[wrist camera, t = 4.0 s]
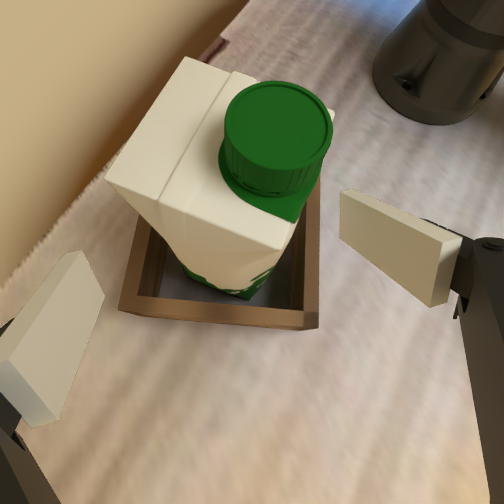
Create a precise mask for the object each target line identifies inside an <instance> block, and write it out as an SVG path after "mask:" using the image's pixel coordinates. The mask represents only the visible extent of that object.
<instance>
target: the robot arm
mask: <svg viewBox="0 0 504 504" xmlns="http://www.w3.org/2000/svg"><path fill="white" fill-rule="evenodd" d="M503 72H504V0H421V1H420V2H419V3H418V4H417V5H416V6H415V7H414V8H413V10H412V11H411V12H410V13H409V14H408V15H407V16H406V17H405V18H404V19H403V20H402V22H401V23H400V24H399V25H398V26H397V27H396V28H395V29H394V31H393V32H392V33H391V34H390V35H389V36H388V37H387V38H386V40H385V41H384V43H383V44H382V46H381V48H380V50H379V52H378V54H377V56H376V58H375V60H374V63H373V79H374V82H375V85H376V87H377V89H378V91H379V92H380V94H381V95H382V97H383V98H384V99H385V100H386V101H387V102H388V103H389V104H390V105H391V106H392V107H393V108H394V109H396V110H397V111H399V112H400V113H402V114H403V115H405V116H407V117H409V118H411V119H414V120H416V121H419V122H423V123H427V124H434V125H447V124H453V123H457V122H460V121H462V120H464V119H466V118H468V117H469V116H470V115H471V114H472V113H473V112H475V111H476V110H477V109H478V108H479V107H480V106H481V105H482V104H483V103H484V102H485V101H486V100H487V98H488V97H489V96H490V94H491V92H492V91H493V89H494V87H495V86H496V84H497V82H498V81H499V79H500V77H501V75H502V74H503ZM340 238H341V239H342V240H343V241H344V242H346V243H347V244H348V245H350V246H351V247H352V248H353V249H355V250H356V251H357V252H359V253H360V254H361V255H362V256H364V257H365V258H366V259H368V260H369V261H370V262H371V263H373V264H374V265H375V266H376V267H378V268H379V269H380V270H382V271H383V272H384V273H385V274H387V275H388V276H389V277H391V278H392V279H393V280H394V281H396V282H397V283H398V284H400V285H401V286H402V287H403V288H405V289H406V290H407V291H409V292H410V293H411V294H412V295H414V296H415V297H416V298H417V299H419V300H420V301H421V302H423V303H424V304H425V305H426V306H428V307H429V308H430V307H434V306H437V305H440V304H443V303H447V300H448V296H449V292H450V289H452V290H453V291H455V292H456V293H458V294H459V296H458V300H457V304H456V308H455V312H454V315H453V319H457V316H458V315H459V318H460V324H461V330H462V336H463V342H464V347H465V353H466V359H467V365H468V371H469V376H470V382H471V388H472V394H473V400H474V406H475V411H476V417H477V423H478V429H479V435H480V440H481V446H482V452H483V458H484V464H485V469H486V475H487V481H488V487H489V494H490V504H504V239H501V238H493V237H483V238H478V239H476V240H473V239H470V238H468V237H466V236H463V235H461V234H459V233H457V232H454V231H452V230H450V229H446V228H445V227H443V226H441V225H439V226H438V224H436V223H434V222H431V221H429V220H426V219H421V218H418V217H416V216H413V215H411V214H409V213H407V212H404V211H402V210H400V209H398V208H395V207H393V206H391V205H389V204H386V203H384V202H382V201H380V200H377V199H375V198H373V197H371V196H368V195H366V194H364V193H362V192H359V191H357V190H355V189H349V190H345V191H340ZM104 299H105V295H104V293H103V291H102V289H101V287H100V285H99V283H98V281H97V279H96V277H95V275H94V273H93V271H92V269H91V267H90V265H89V263H88V261H87V259H86V257H85V255H84V253H83V251H82V250H79V251H75V252H70V253H66V254H64V255H63V257H62V258H61V259H60V261H59V262H58V263H57V264H56V266H55V267H54V268H53V270H52V271H51V272H50V273H49V275H48V276H47V277H46V279H45V280H44V281H43V283H42V284H41V285H40V286H39V288H38V289H37V290H36V292H35V293H34V294H33V296H32V297H31V298H30V299H29V301H28V302H27V303H26V305H25V306H24V307H23V308H22V310H21V311H20V312H19V314H18V315H17V316H16V318H13V319H11V320H10V321H9V322H8V323H6V324H5V325H4V326H3V327H1V328H0V504H61V503H60V501H59V499H58V498H57V496H56V494H55V493H54V491H53V489H52V488H51V486H50V484H49V483H48V481H47V479H46V478H45V476H44V474H43V473H42V471H41V469H40V468H39V466H38V464H37V463H36V461H35V459H34V457H33V456H32V454H31V452H30V451H29V449H28V447H27V446H26V444H25V442H24V441H23V439H22V437H21V436H20V435H19V434H18V433H17V432H16V431H15V429H16V427H17V425H18V423H19V421H20V419H21V417H22V418H23V419H24V421H25V422H26V423H27V424H28V425H29V426H30V427H31V428H36V427H39V426H42V425H46V424H49V423H52V422H55V421H59V418H60V415H61V413H62V410H63V407H64V405H65V402H66V399H67V397H68V394H69V391H70V389H71V386H72V383H73V381H74V378H75V376H76V373H77V370H78V368H79V365H80V362H81V360H82V357H83V354H84V352H85V349H86V346H87V344H88V341H89V338H90V336H91V333H92V330H93V328H94V325H95V323H96V320H97V317H98V315H99V312H100V309H101V307H102V304H103V301H104Z"/></svg>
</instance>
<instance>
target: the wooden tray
mask: <svg viewBox="0 0 504 504" xmlns="http://www.w3.org/2000/svg"><path fill="white" fill-rule="evenodd" d="M319 241H320V174H319V177H318V180H317V182H316V185H315V187H314V189H313V191H312V192H311V194H310V195H309V197H308V198H307V200H306V202H305V204H304V207H303V209H302V212H301V214H300V217H299V220H298V222H297V225H296V228H295V230H294V233H293V237H292V260H291V284H290V307H289V310H286V309H276V308H265V307H254V306H243V305H233V304H222V303H211V302H200V301H190V300H179V299H168V298H158V296H159V291H160V286H161V280H162V275H163V269H164V264H165V259H166V253H167V248H168V243H167V242H166V240H165V239H164V238H163V237H162V236H161V235H160V234H159V233H158V232H157V231H156V230H155V229H154V228H153V227H152V226H151V225H150V224H149V223H148V222H147V221H146V220H145V219H144V218H143V217H142V216H141V215H140V214H139V217H138V222H137V226H136V231H135V235H134V240H133V244H132V248H131V253H130V257H129V262H128V266H127V271H126V275H125V279H124V284H123V288H122V293H121V297H120V301H119V306H118V310H120V311H124V312H127V313H131V314H135V315H139V316H144V317H155V318H166V319H177V320H189V321H200V322H211V323H222V324H233V325H244V326H255V327H266V328H277V329H288V330H299V331H302V330H309V329H316V328H318V326H319Z"/></svg>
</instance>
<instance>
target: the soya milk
mask: <svg viewBox="0 0 504 504" xmlns="http://www.w3.org/2000/svg"><path fill="white" fill-rule="evenodd" d="M334 116H335V113H334V111H333V110H331V109H328V108H326V107H325V105H324V104H323V102H322V101H321V100H320V99H319V98H318V97H317V96H316V95H314V94H313V93H312V92H310V91H309V90H307V89H305V88H303V87H301V86H299V85H296V84H293V83H289V82H284V81H265V82H259V81H257V80H256V79H254V78H253V77H250V76H248V75H245V74H242V73H240V72H237V71H233V72H232V74H231V73H229V72H226V71H223V70H221V69H218V68H216V67H213V66H210V65H208V64H205V63H202V62H200V61H197V60H194V59H191V58H189V57H184V59H183V60H182V62H181V63H180V65H179V66H178V68H177V69H176V70H175V72H174V73H173V75H172V76H171V78H170V79H169V81H168V82H167V84H166V85H165V87H164V88H163V90H162V91H161V93H160V94H159V96H158V97H157V99H156V100H155V102H154V103H153V105H152V106H151V108H150V109H149V111H148V112H147V114H146V115H145V116H144V118H143V119H142V121H141V122H140V124H139V126H138V127H137V129H136V130H135V131H134V133H133V134H132V136H131V137H130V139H129V140H128V142H127V143H126V145H125V146H124V148H123V149H122V151H121V152H120V154H119V155H118V157H117V158H116V160H115V161H114V163H113V164H112V166H111V167H110V168H109V170H108V171H107V173H106V174H105V176H104V178H103V179H104V180H105V181H107V182H108V183H109V184H110V185H111V186H112V187H113V188H114V189H115V190H116V191H117V192H118V193H119V194H120V195H121V196H122V197H123V198H124V199H125V200H126V201H127V202H128V203H129V204H130V205H131V206H132V207H133V208H134V209H135V210H136V211H137V212H138V213H139V214H140V215H141V216H142V217H143V218H144V219H145V220H146V221H147V222H148V223H149V224H150V225H151V226H152V227H153V228H154V229H155V230H156V231H157V232H158V233H159V234H160V235H161V236H162V237H163V238H164V239H165V240H166V242H167V243H168V244H169V246H170V247H171V249H172V250H173V252H174V253H175V255H176V256H177V258H178V259H179V261H180V262H181V264H182V267H183V271H184V274H186V275H188V276H189V277H191V278H192V279H194V280H196V281H198V282H200V283H203V284H205V285H207V286H210V287H212V288H215V289H217V290H220V291H222V292H225V293H228V294H230V295H233V296H236V297H239V298H242V299H245V300H248V301H249V300H250V299H251V298H252V296H253V295H254V294H255V293H256V292H257V290H258V289H259V288H260V287H261V286H262V284H263V283H264V282H265V281H266V279H267V278H268V277H269V275H270V274H271V272H272V271H273V269H274V267H275V265H276V264H277V262H278V260H279V259H280V257H281V255H282V253H283V252H284V250H285V248H286V246H287V245H288V243H289V241H290V239H291V237H292V235H293V233H294V230H295V228H296V225H297V222H298V220H299V217H300V214H301V212H302V209H303V207H304V204H305V202H306V200H307V198H308V197H309V195H310V194H311V192H312V191H313V189H314V187H315V185H316V182H317V180H318V177H319V174H320V171H321V167H322V162H323V158H324V156H325V154H326V152H327V150H328V148H329V146H330V144H331V140H332V134H333V125H332V122H333V119H334Z"/></svg>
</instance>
